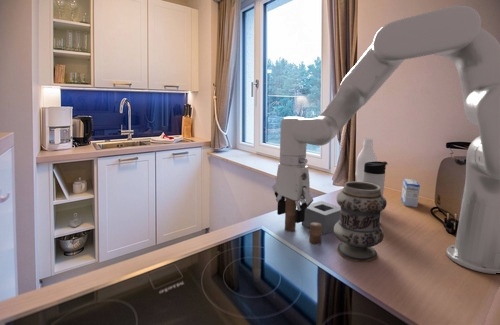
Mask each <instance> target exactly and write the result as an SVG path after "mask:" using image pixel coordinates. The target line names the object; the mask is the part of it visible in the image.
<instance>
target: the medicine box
mask: <svg viewBox="0 0 500 325" xmlns="http://www.w3.org/2000/svg"><path fill="white" fill-rule="evenodd" d="M420 187H421V185H420V183H419V182H418V181H417V179H412V178H411V179H410V178H403V181H402V187H401V188H402V189H401V198H400V199H401V202H402V203H403V205H404V206H405V207H413V208H417V207H418V204H419V195H420V190H421V188H420Z"/></svg>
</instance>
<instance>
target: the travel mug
mask: <svg viewBox="0 0 500 325" xmlns="http://www.w3.org/2000/svg"><path fill="white" fill-rule="evenodd" d="M387 166H388V162H387V161H378V160H377V161H376V162H367V163H365V165H364V174H363V182H367V183H372V184H376V185H378V186H379V187H380V192H381V195H382V196H383V197H384V189H385V188H384V187H385V180H386V168H387ZM381 218H382V211H380V221H381V220H382V219H381Z"/></svg>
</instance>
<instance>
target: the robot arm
mask: <svg viewBox="0 0 500 325" xmlns="http://www.w3.org/2000/svg"><path fill="white" fill-rule="evenodd" d="M430 55H436V56H439V57H443V58H445V59H448V60H450V61H451V62H452V63H453V64H454V66H455V68H456V71H457V74H458V78H459V82H460V89H461V96H462V101H463V111H464V115H465V118H466V119H467V121H469V122H470V124H472V125H474V126H476V127H478V132H479V136H477V137H476V138H474V140H472V141H471V143H470V144H469V147H468V149H467V152H466V159H465V161H466V162H465V182H464V187H463V195H462V200H461V206H460V213H459V219H458V224H457V231H456V238H455V243H454V244H451V245H449V246H448V247H447V248H446V256H447V257H449V259H450V260H451V261H453V262H455V263H456V264H458V265H459V266H462V267H463V268H467V269H469V270H472V271H476V272H480V273H483V274H489V275H497V274H496V273H498V272H500V42H499V41H498V40H497V39H496V37H495V36H494V35H493V34H491V33H490V32H488V31H487V30H486V29H484V28H482V18H481V16H480V13H479V12H478V11H477V10H476V9H474V8H473V7H472V6H471V7H470V6H468V5H451V6H446V7H444V8H443V7H442V8H440V9H435V10H432V11H428V12H424V13H422V14H416V15H414V16H413V15H412V16H408V17H405V18H400V19H397V20H395V21H391V22H388V23H386V24H384V25H383V26H381V27H380V28H379V29H378V31H377V32H376V34H375V35H374V38H373V41H372V43H371V45H370V46H369V47H368V48H367V50H365V52H364V53H363V54H362V56H361V57H360V58H359V59H358V61H357V62H356V63H355V65H354V66H353V67H352V68H351V69H350V70H349V71H348V72H347V74H345V76H344V77H343V79H342V81H341V83H340V85H339V88H338V90H337V92H336V93H335V95H334V97H333V98H332V99H331V101H330V102H329V103H328V105H327V106H326V107H325V108H324V110H323V111H322V112H321V113H320V114H319V116H317V117H313V118H305V117H304V116H303V117H302V116H285V117H283V118H282V119H281V121H280V137H279V138H280V139H279V140H280V141H279V142H280V143H279V144H280V145H279V163H278V166H277V170H276V171H277V172H276V180H275V183H274V185H272V188H271V189H272V191H273V192H274V197H275V198H276V199H275V200H276V202H277V207H276V208H277V212H276V213H277V215H278V216H279V215H283V214H285V208H286V198H289V199H291V200H294V201H295V203H296V214H295V222H296V224H299V223H302V222H303V221H304V219H305V209H307V207H308V206H309V205H310V204H313V203H314V198H313V196H312V195H311V194H310V191H311V190H310V187H311V186H310V173H309V166H308V165H307V163H308V159H307V145H311V146H317V147H320V146H325V145H327V144H328V143H330V142H331V141H332V140H333V139H334V138H335V137H336V135H338V133H339V132H340V131H341V130H342V129H343V128H344V127H345V125H347V123H349V121H350V120H351V119H352V118H353V117H354V115H355V114H356V113H357V112H358V111H359V110H360V109H361V108H363V106H365V105H366V104H367V103H368V102H369V101H370V100H371V98H372V97H373V96H374V95H375V94H376V93H377V92H378V91H379V89H380V88H381V87H382V86H383V85H384V84H385V82H386V81H387V80H388V79H389V78H390V77H391V76H392V75H393V74H394V72H395V71H396V70H397V69H398V68H399V67H400V66H401V65H402V64H403V62H404V61H405V60H408V59H409V60H410V59H416V58H420V57H421V58H422V57H424V56H425V57H426V56H430Z"/></svg>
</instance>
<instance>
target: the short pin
mask: <svg viewBox="0 0 500 325" xmlns="http://www.w3.org/2000/svg"><path fill="white" fill-rule="evenodd" d="M308 242H309V244H312V245H320V244H322V225H321V224H320V223H311V224H310V228H309V239H308Z"/></svg>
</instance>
